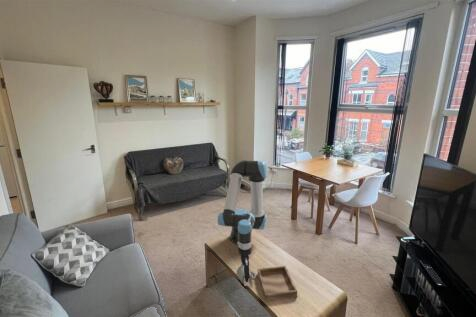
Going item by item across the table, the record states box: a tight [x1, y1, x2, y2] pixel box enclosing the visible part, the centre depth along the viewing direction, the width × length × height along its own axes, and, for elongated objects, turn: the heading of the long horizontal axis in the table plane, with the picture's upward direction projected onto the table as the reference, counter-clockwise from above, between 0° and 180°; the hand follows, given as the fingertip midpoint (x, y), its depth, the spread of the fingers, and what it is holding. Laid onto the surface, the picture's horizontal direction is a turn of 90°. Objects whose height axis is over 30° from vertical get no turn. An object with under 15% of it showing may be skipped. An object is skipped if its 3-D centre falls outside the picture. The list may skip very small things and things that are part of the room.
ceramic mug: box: [235, 265, 256, 285], centre depth 137 cm, size 11×8×8 cm
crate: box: [257, 265, 298, 302], centre depth 136 cm, size 20×18×4 cm
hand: (245, 278), depth 137 cm, fingers closed on ceramic mug, 9 cm apart
